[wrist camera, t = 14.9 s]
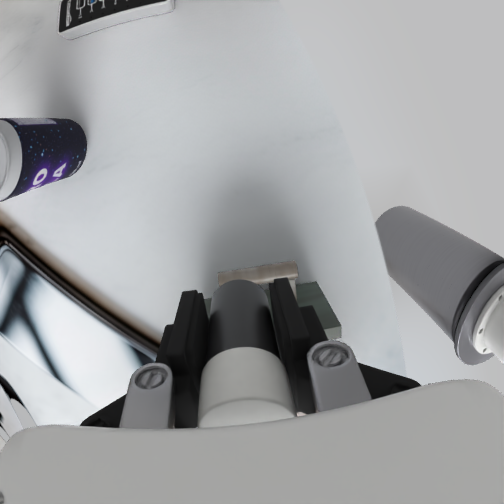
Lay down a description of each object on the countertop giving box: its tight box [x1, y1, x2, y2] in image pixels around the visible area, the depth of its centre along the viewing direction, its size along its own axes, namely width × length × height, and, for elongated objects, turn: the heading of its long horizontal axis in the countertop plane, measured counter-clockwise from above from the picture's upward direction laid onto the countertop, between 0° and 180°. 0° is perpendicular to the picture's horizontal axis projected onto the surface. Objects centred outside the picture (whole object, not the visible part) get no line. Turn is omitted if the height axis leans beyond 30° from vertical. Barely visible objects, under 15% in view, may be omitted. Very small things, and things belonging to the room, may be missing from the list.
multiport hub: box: [57, 0, 175, 40], centre depth 18 cm, size 4×11×2 cm, turn 95°
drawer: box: [204, 260, 341, 340], centre depth 28 cm, size 19×11×8 cm, turn 8°
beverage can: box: [0, 118, 87, 202], centre depth 18 cm, size 6×6×12 cm
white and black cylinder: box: [197, 279, 297, 428], centre depth 10 cm, size 3×3×6 cm
